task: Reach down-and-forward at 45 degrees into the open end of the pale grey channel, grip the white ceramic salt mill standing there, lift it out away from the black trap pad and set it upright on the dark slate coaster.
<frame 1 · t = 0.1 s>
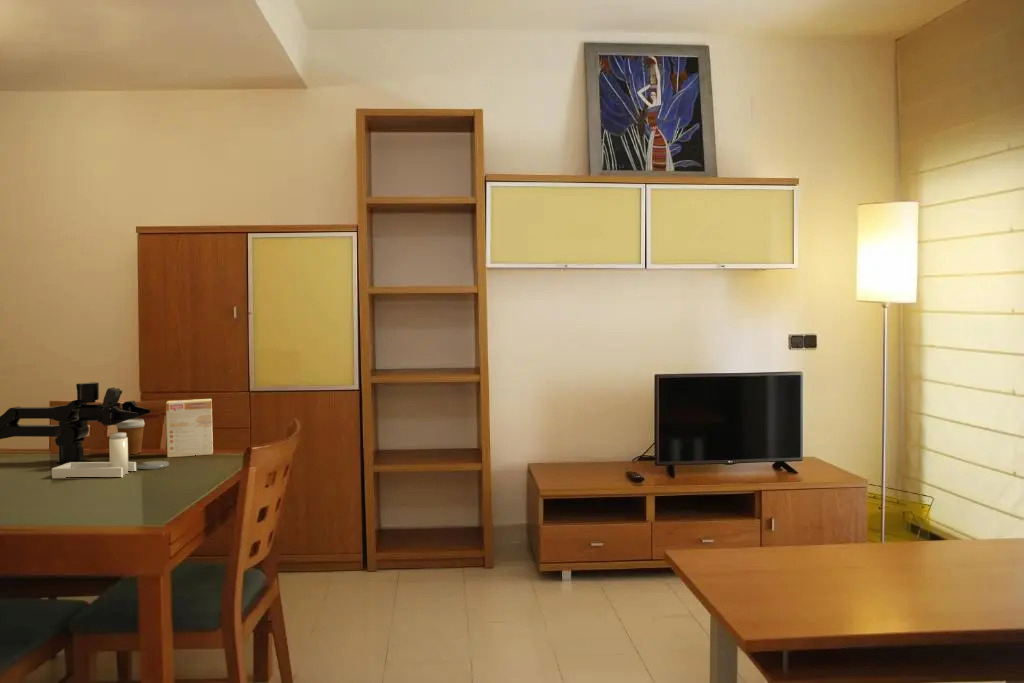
hand: (144, 412, 271), 17 cm above the table, tool horizontal, fingers open, 9 cm apart
coffeecake box: (190, 455, 284), on the table
salt mill: (119, 474, 250), on the table
coaster: (152, 466, 262), on the table
disposable coffee cup: (131, 454, 286), on the table
channel: (96, 474, 250), on the table
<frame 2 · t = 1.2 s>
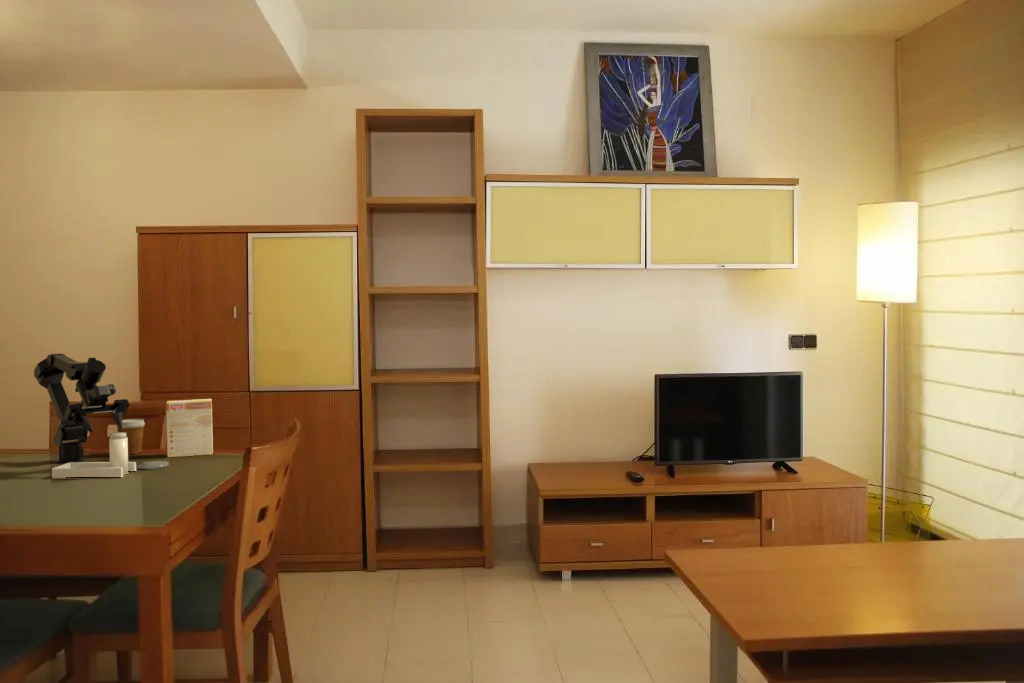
hand: (106, 429, 255), 13 cm above the table, tool tilted 45°, fingers open, 9 cm apart
nothing on the table moved.
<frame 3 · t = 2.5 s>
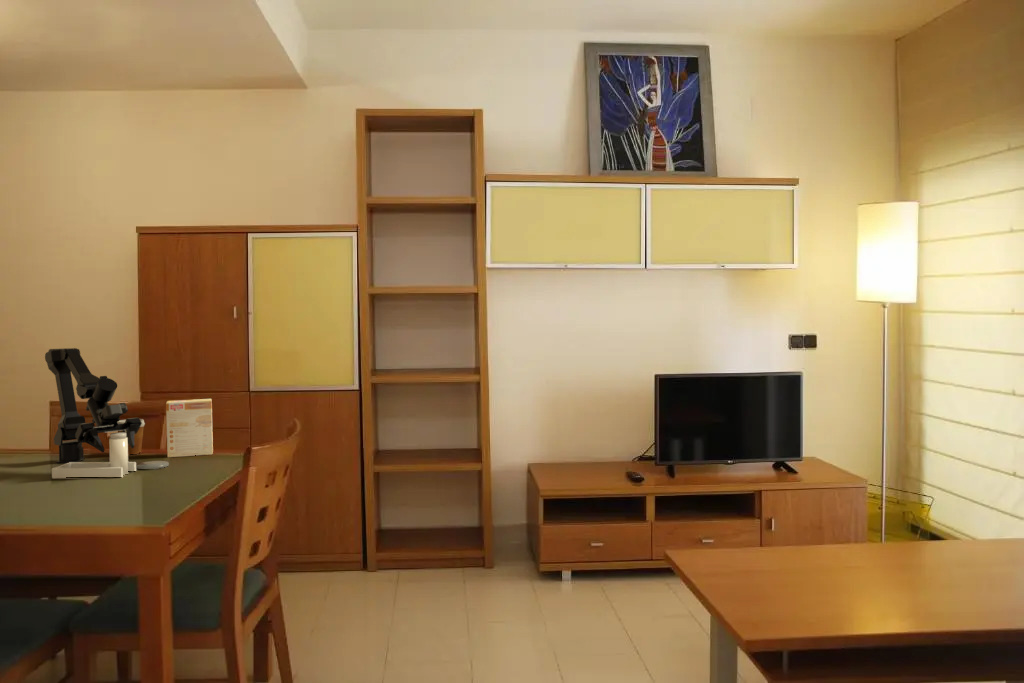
hand: (118, 449, 250), 8 cm above the table, tool tilted 45°, fingers open, 9 cm apart
nothing on the table moved.
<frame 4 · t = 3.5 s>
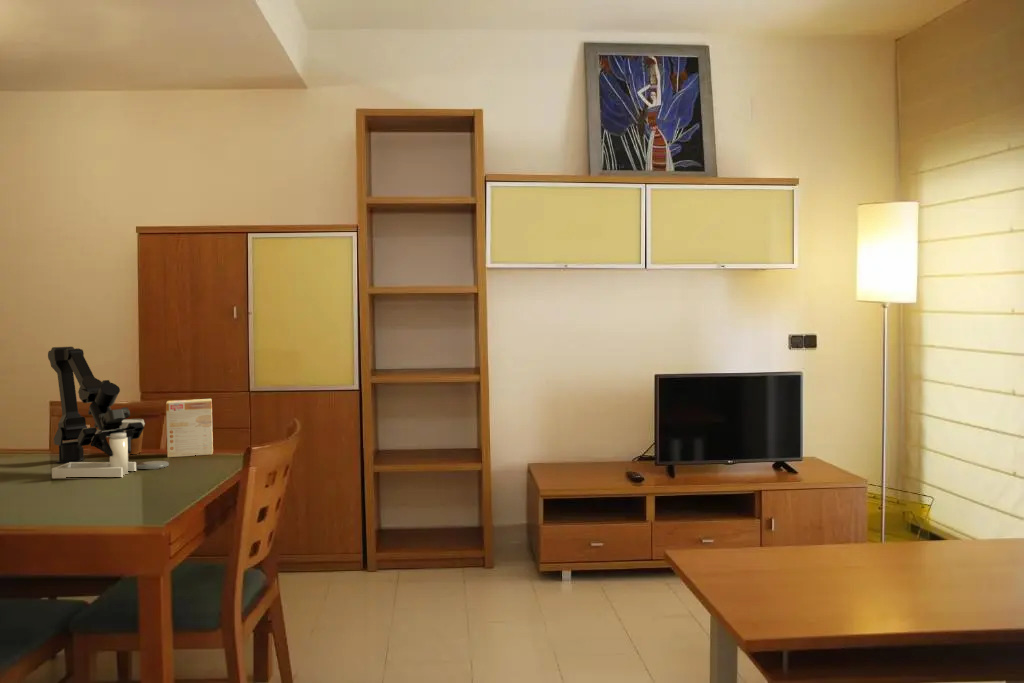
hand: (120, 454, 249), 7 cm above the table, tool tilted 45°, fingers closed on salt mill, 5 cm apart
salt mill: (119, 474, 250), on the table, touching gripper
everything else where it was.
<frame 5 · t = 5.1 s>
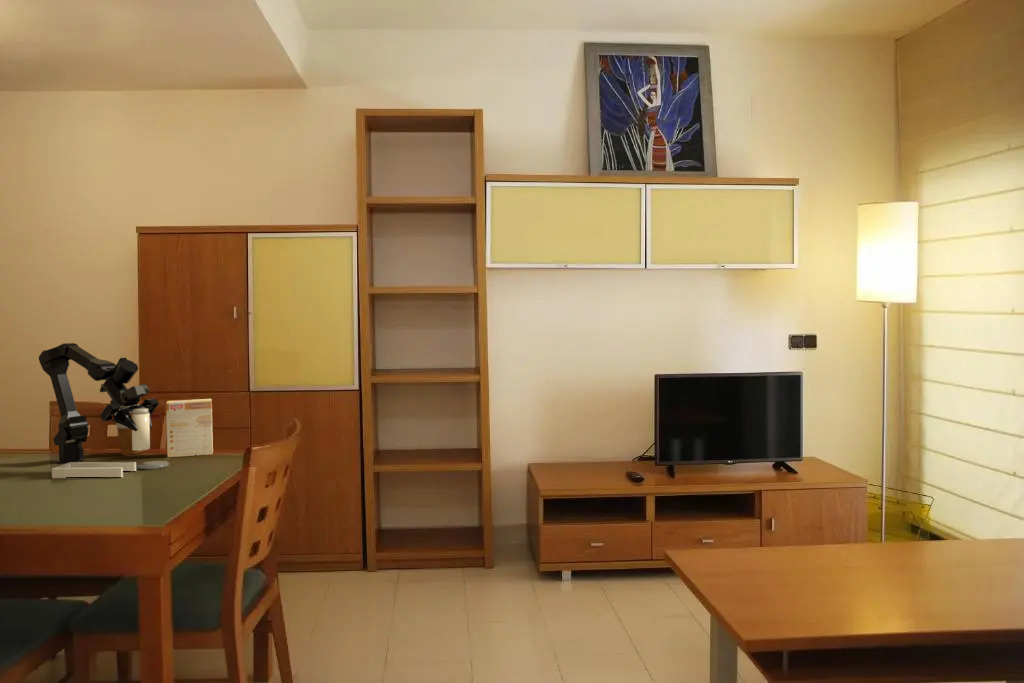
hand: (143, 429, 257), 13 cm above the table, tool tilted 45°, fingers closed on salt mill, 5 cm apart
salt mill: (141, 449, 257), point 7 cm above the table, touching gripper
everything else where it was.
when the fingers open (9 cm above the table, at t = 6.7 s): salt mill stays where it is, resting on coaster.
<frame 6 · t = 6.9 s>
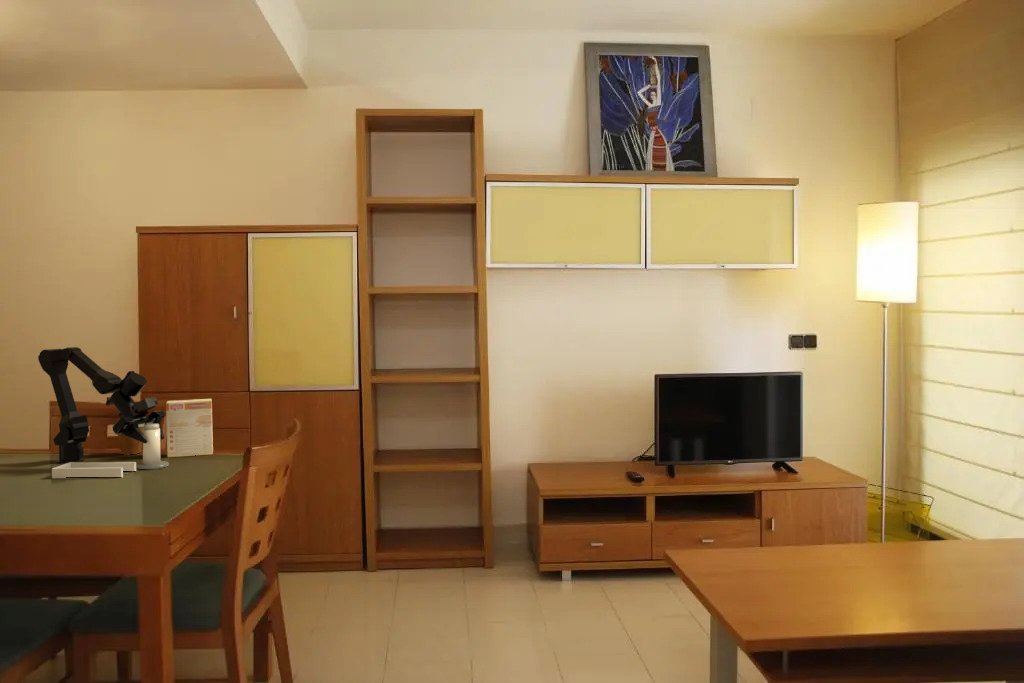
hand: (155, 440, 261), 9 cm above the table, tool tilted 45°, fingers open, 7 cm apart
salt mill: (151, 463, 262), point 1 cm above the table, touching coaster
everything else where it was.
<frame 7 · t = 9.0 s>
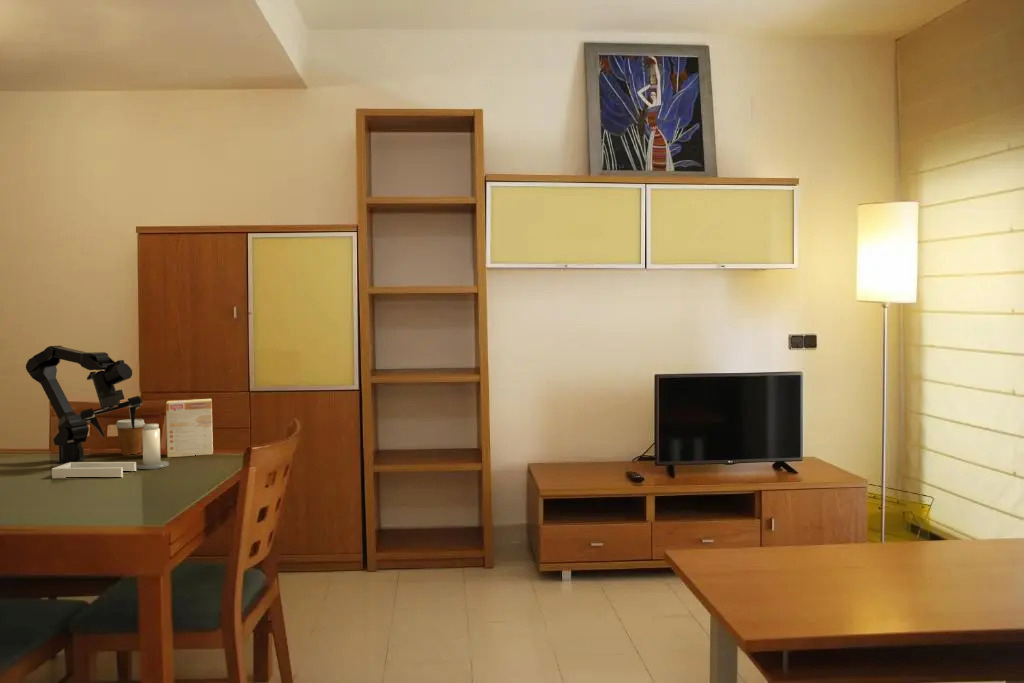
hand: (118, 433, 265), 11 cm above the table, tool tilted 20°, fingers open, 9 cm apart
nothing on the table moved.
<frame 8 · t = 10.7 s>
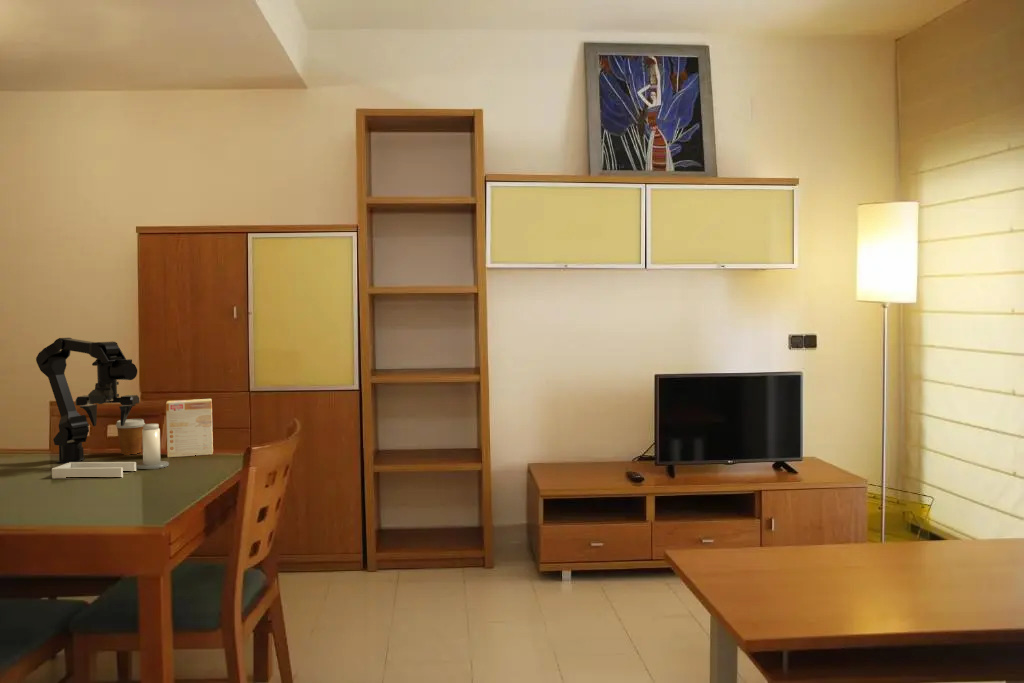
hand: (108, 426, 266), 13 cm above the table, tool pointing down, fingers open, 9 cm apart
nothing on the table moved.
at the end: salt mill inside the target area on the coaster (0.1 cm from its centre), point 1.0 cm above the coaster's base; salt mill tilted 0°; the gripper is holding nothing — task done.
